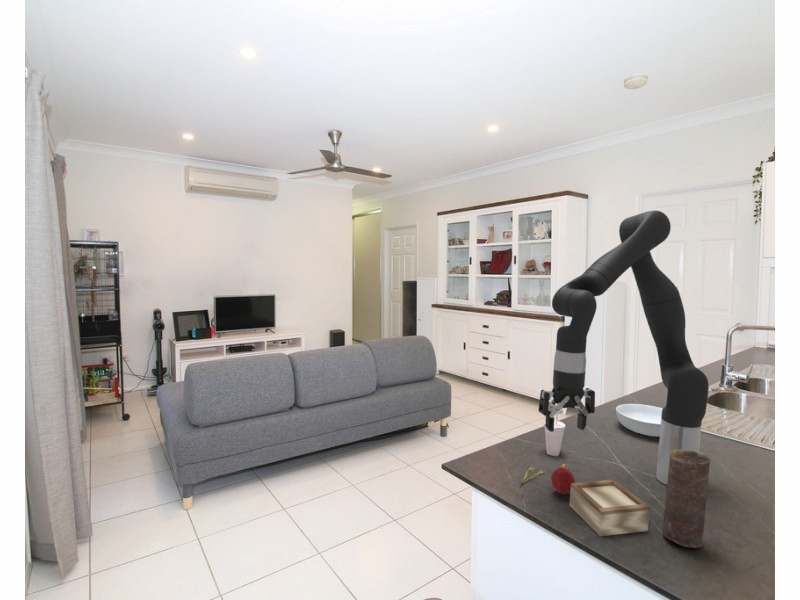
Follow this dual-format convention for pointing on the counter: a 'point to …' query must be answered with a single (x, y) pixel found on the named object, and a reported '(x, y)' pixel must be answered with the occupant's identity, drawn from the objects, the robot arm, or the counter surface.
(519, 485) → the tongs
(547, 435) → the smoothie
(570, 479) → the pomegranate
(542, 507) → the counter surface
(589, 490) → the pedestal
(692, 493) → the rusty metal cylinder
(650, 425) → the serving bowl
